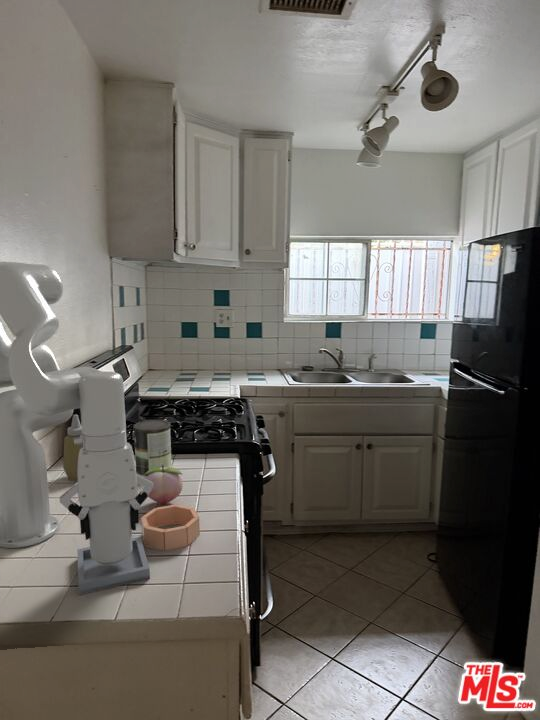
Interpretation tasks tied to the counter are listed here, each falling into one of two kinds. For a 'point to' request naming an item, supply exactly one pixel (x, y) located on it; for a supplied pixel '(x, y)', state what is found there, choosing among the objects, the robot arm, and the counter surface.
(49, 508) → the robot arm
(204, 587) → the counter surface
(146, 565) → the slate tray
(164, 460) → the coffee can
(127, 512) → the can
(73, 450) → the squeeze bottle
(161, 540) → the terracotta ring
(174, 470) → the decorative fruit
